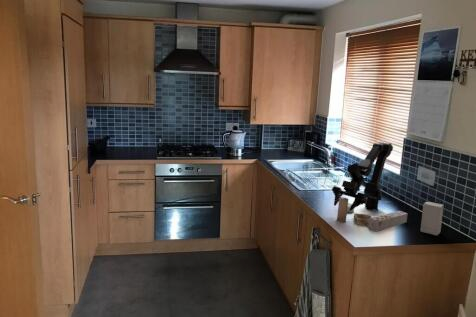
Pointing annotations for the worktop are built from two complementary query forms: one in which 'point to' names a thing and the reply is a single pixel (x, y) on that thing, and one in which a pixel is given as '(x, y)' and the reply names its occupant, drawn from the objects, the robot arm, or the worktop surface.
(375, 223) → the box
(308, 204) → the worktop surface
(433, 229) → the skincare box
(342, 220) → the brown dome-top cylinder
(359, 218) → the tray
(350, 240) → the worktop surface
